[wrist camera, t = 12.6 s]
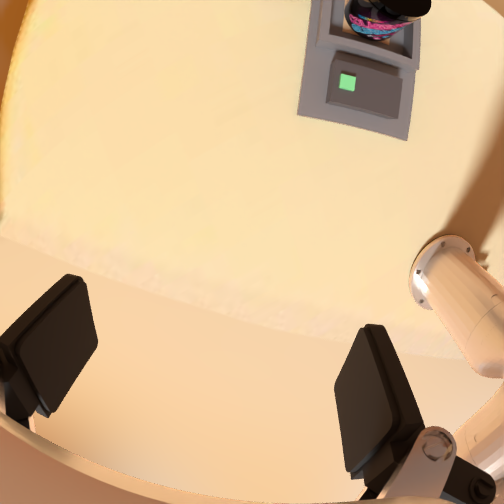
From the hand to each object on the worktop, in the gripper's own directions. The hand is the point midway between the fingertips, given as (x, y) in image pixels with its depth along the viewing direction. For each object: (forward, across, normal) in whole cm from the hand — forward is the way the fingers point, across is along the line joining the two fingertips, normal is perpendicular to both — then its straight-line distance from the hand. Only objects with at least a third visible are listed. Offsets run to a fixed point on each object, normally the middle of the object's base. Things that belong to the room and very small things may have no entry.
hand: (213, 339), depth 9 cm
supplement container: (+27, -10, -24) cm, 38 cm away
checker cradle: (+28, -10, -20) cm, 36 cm away
